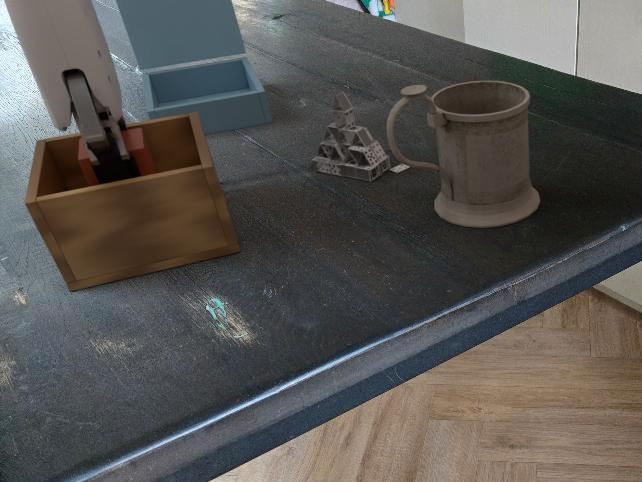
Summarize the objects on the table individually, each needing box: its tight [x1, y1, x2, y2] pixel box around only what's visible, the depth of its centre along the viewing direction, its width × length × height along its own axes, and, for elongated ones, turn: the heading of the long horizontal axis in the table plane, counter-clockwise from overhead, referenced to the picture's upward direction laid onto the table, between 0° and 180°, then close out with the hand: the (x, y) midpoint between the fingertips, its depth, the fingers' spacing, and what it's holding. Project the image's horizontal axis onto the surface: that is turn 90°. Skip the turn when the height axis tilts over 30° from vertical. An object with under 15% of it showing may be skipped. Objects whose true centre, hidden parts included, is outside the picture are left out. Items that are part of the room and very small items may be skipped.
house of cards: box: [311, 90, 410, 183], centre depth 73 cm, size 9×9×8 cm
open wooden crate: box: [24, 112, 241, 292], centre depth 63 cm, size 14×14×8 cm
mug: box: [386, 80, 541, 229], centre depth 63 cm, size 14×10×12 cm
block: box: [78, 128, 158, 187], centre depth 62 cm, size 5×5×5 cm
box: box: [141, 56, 274, 136], centre depth 86 cm, size 15×13×4 cm
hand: (129, 189), depth 63 cm, fingers closed on block, 5 cm apart
